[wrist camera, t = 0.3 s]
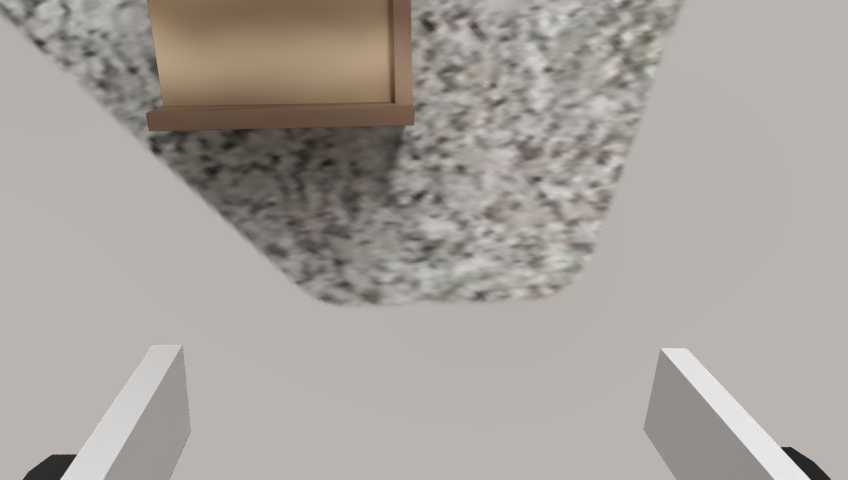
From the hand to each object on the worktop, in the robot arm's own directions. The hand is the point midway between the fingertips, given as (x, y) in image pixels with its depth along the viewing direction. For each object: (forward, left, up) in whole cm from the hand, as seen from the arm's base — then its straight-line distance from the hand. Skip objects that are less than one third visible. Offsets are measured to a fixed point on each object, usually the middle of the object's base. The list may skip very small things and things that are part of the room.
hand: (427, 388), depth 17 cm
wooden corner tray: (-11, -7, -27) cm, 30 cm away
